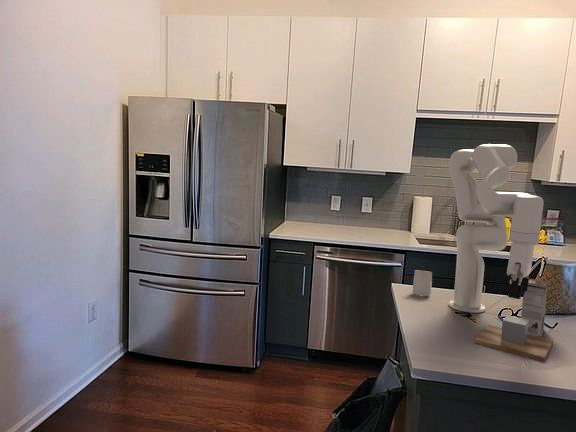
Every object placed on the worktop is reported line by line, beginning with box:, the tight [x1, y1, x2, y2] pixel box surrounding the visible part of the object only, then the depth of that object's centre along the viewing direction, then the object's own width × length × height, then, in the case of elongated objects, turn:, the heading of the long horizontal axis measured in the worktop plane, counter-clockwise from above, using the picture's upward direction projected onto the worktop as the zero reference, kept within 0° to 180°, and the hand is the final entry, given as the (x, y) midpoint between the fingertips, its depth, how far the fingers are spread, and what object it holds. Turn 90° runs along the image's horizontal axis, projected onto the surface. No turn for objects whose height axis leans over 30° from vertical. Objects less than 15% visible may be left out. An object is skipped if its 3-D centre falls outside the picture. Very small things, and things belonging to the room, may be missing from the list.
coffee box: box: [520, 277, 549, 337], centre depth 138 cm, size 9×6×16 cm
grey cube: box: [501, 314, 529, 345], centre depth 127 cm, size 6×6×6 cm
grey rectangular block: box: [412, 269, 433, 298], centre depth 175 cm, size 4×7×10 cm, turn 63°
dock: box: [474, 324, 554, 362], centre depth 128 cm, size 16×18×5 cm
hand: (517, 294), depth 127 cm, fingers open, 9 cm apart
